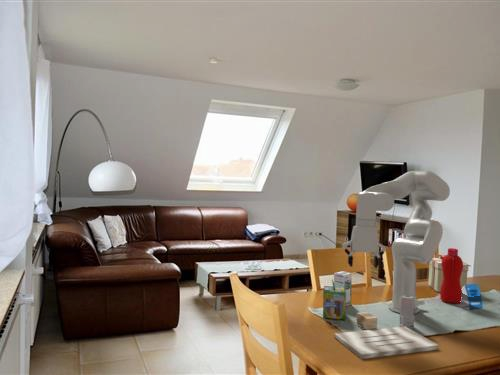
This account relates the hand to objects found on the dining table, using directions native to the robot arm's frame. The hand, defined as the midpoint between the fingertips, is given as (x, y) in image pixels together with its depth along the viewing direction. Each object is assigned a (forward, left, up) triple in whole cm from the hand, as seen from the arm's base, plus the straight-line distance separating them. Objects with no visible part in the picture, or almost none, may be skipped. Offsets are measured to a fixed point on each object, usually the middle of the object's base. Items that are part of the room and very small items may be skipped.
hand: (363, 266), depth 169 cm
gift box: (-73, -34, -23) cm, 84 cm away
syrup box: (-5, -24, -23) cm, 34 cm away
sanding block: (0, +4, -23) cm, 23 cm away
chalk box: (+6, -11, -23) cm, 26 cm away
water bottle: (-58, -16, -23) cm, 64 cm away
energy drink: (-16, +7, -23) cm, 29 cm away
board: (+2, +19, -23) cm, 30 cm away
